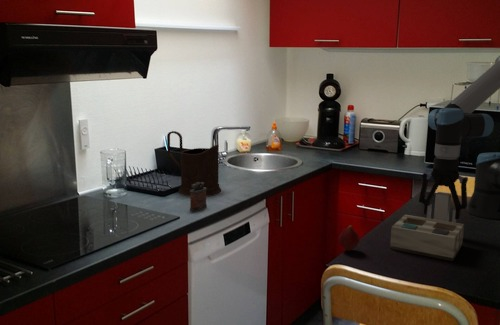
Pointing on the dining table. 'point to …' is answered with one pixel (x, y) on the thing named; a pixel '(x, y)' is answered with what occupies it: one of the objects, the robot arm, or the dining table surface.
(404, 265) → the dining table surface
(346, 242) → the onion
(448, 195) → the plug
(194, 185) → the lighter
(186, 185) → the dark brown mug
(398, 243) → the socket board
